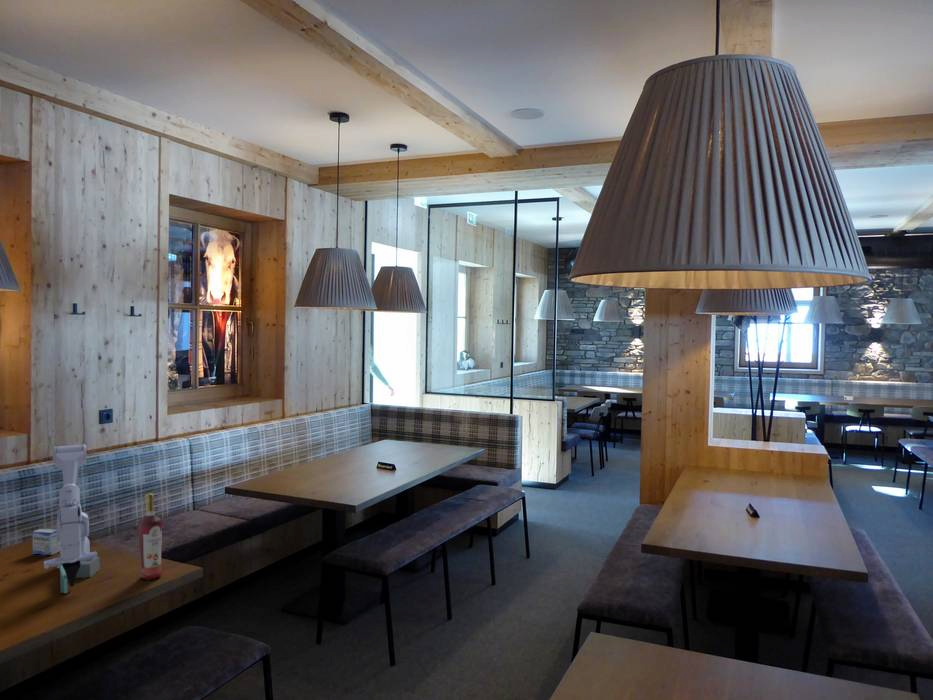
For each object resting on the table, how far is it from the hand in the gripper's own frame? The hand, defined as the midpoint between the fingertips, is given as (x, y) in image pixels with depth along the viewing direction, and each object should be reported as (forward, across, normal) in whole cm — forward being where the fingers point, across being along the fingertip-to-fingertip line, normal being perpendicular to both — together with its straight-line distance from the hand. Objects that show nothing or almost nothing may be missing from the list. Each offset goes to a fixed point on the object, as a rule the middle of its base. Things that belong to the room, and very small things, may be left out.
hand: (71, 585), depth 216 cm
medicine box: (+2, -3, +45) cm, 46 cm away
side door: (+1, -2, +5) cm, 6 cm away
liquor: (+2, +23, -4) cm, 23 cm away
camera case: (+1, +4, +14) cm, 15 cm away
